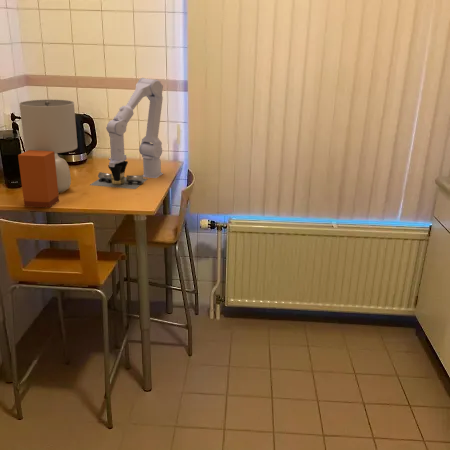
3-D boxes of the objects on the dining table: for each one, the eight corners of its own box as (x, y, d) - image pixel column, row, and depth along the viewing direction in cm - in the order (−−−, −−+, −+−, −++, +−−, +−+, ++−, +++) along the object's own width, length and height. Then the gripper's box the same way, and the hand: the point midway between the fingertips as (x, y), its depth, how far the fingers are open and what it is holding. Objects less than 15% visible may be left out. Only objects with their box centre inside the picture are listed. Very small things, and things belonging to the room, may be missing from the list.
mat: (104, 176, 229) (104, 175, 229) (147, 180, 226) (147, 178, 226) (89, 186, 215) (89, 185, 214) (135, 190, 211) (135, 188, 211)
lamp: (28, 199, 196) (16, 105, 183) (32, 185, 214) (21, 98, 201) (81, 196, 201) (73, 104, 188) (81, 182, 219) (73, 97, 206)
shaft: (115, 182, 221) (115, 173, 219) (110, 184, 217) (109, 175, 216) (103, 180, 224) (102, 171, 222) (97, 182, 220) (96, 173, 219)
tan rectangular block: (115, 181, 220) (114, 171, 218) (124, 181, 219) (124, 171, 217) (111, 184, 216) (111, 173, 214) (121, 184, 215) (120, 174, 214)
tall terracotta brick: (59, 200, 196) (54, 150, 189) (49, 208, 188) (44, 156, 181) (35, 198, 197) (29, 149, 190) (24, 206, 189) (17, 155, 181)
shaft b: (126, 186, 216) (126, 176, 215) (127, 183, 220) (127, 174, 218) (142, 186, 217) (142, 176, 215) (143, 183, 220) (143, 174, 219)
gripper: (115, 144, 219) (116, 174, 224) (101, 151, 206) (103, 183, 211) (130, 145, 218) (131, 175, 223) (117, 152, 205) (119, 184, 210)
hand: (119, 179), depth 217 cm, fingers open, 4 cm apart
